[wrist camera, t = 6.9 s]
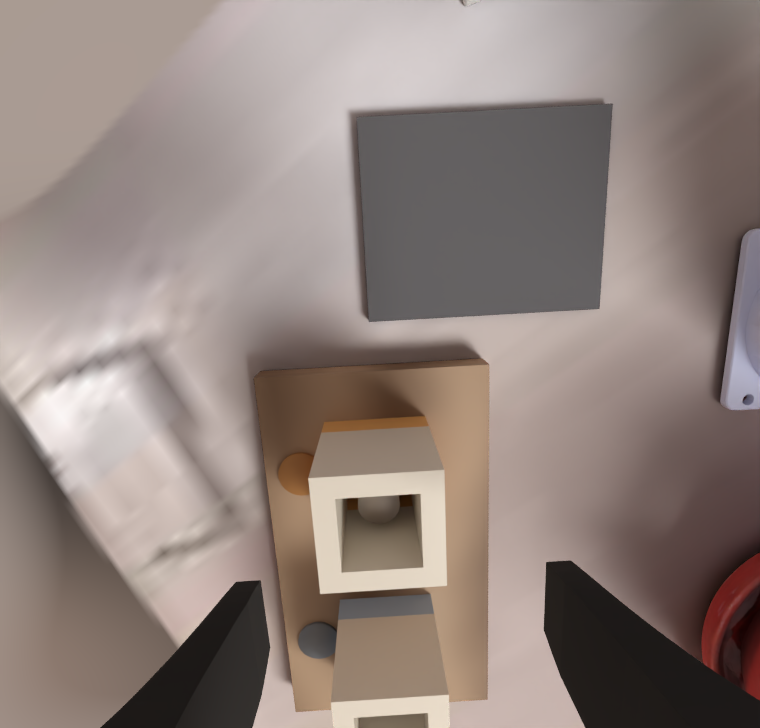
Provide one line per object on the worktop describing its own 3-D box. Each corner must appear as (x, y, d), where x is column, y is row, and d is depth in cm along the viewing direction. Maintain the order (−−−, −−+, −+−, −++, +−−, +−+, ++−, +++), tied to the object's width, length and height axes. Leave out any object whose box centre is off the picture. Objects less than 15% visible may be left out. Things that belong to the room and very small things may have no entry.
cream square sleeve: (424, 415, 19) (444, 469, 14) (428, 506, 20) (447, 585, 15) (324, 422, 19) (307, 478, 14) (332, 512, 20) (320, 594, 15)
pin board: (481, 358, 19) (511, 384, 15) (481, 677, 24) (505, 764, 20) (260, 371, 19) (231, 400, 15) (299, 689, 24) (284, 779, 19)
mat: (607, 107, 17) (612, 103, 17) (594, 307, 19) (599, 308, 19) (357, 120, 17) (356, 116, 17) (369, 320, 19) (369, 321, 19)
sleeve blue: (430, 594, 21) (448, 695, 16) (432, 667, 22) (450, 782, 17) (339, 599, 21) (330, 702, 16) (346, 673, 22) (339, 790, 17)
